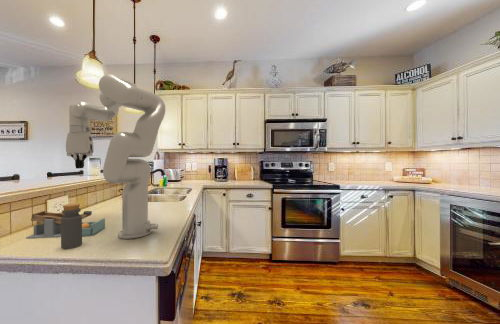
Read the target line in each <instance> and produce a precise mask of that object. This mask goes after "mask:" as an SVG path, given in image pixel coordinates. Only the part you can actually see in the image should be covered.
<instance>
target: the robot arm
mask: <svg viewBox="0 0 500 324" xmlns="http://www.w3.org/2000/svg"><path fill="white" fill-rule="evenodd" d="M98 89H99V91H100V94H99V101H100V103H101V104H102V105H101V104H96V103H94V102H93V103H92V102H88V101H84V100H83V101H82V100H81V101H78V102H76V103H71V104H70V105H69V107H68V115H69V117H68V120H69V121H68V124H69V125H68V127H69V129H68V130H69V132H68V133H67V136H66V140H65V151H66V156H67V157H70V158H73V160H74V164H75V165H74V166H75V169H84V166H85V160H86V159H87V158H89V157H92V156H93V153H95V152H94V151H95V150H94V140H93V135H92V133H90V132H93V129H92V128H91V127H90V120H93V121H98V122H107V121H110V120H112V119H114V118H115V117H116V116H117V115H118V114H119V110H120V108H121V107H125V108H128V109H132V110H137V111H141V112H143V114H142V115H141V116H140V117H139V118H138V119H137V121H136V123H135V127H134V129H133V132H130V131H129V132H128V131H120V132H119V131H118V132H117V133H115V134H114V135H113V136H112V137H111V138H110V140H109V144H108V148H107V152H106V156H105V159H104V163H103V169H102V174H103V175H102V176H103V178H104V179H105V180H104V181H106V182H108V183H109V184H123V183H124V184H125V185H124V187H123V189H122V194H121V196H122V198H121V199H122V202H121V203H122V204H121V210H122V211H121V216H122V218H121V220H122V221H121V222H122V223H121V225H122V226H121V227H122V229H121V230H120V231H118V232H117V237H118V238H120V239H123V240H124V239H125V240H131V239H138V238H141V237H145V236H147V235H150V234H151V233H153V230H158V229H159V224H158V223H151V220H149V181H150V176H151V172H152V171H151V165H150V164H149V162H148V161H146V160H145V159H141V158H147V157H150V156H151V155H152V153H153V150H154V147H155V144H156V140H157V137H158V134H159V130H160V127H161V124H162V122H163V120H164V117H165V116H166V105H165V102H164V100H163V99H162V98H161V97H160V96H159V95H158V94H156V93H153V92H152V91H149V90H146V89H144V88H140V87H138V86H137V85H136V83H134V82H132V81H131V80H128V79H126V78H123V77H120V76H118V75H115V74H112V73H107V74H105V75H102V77H101V78H100V79H99V81H98Z"/></svg>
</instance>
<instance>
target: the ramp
mask: <svg viewBox="0 0 500 324" xmlns="http://www.w3.org/2000/svg"><path fill="white" fill-rule="evenodd" d="M92 213H93V211H92V210H84V211H83V213H82V214H80V215H82V220H83V219H86V218H88V217H90V216H92V215H93V214H92ZM63 216H64V214H63V213H60V212H59V213H58V212H48V211H45V210H42V211H40V212H34V213H32V214H31V219H30V221H31V222H36V225H44V220H46V219H54V223H58V224H61V218H62V217H63Z"/></svg>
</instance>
